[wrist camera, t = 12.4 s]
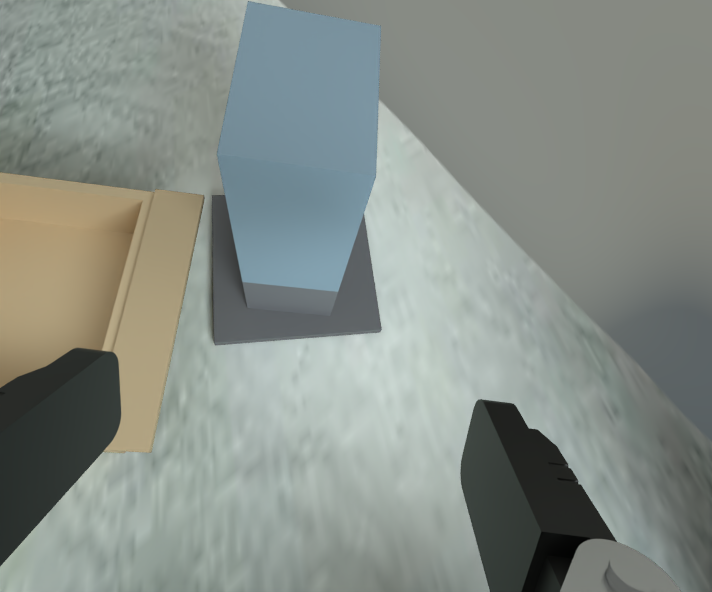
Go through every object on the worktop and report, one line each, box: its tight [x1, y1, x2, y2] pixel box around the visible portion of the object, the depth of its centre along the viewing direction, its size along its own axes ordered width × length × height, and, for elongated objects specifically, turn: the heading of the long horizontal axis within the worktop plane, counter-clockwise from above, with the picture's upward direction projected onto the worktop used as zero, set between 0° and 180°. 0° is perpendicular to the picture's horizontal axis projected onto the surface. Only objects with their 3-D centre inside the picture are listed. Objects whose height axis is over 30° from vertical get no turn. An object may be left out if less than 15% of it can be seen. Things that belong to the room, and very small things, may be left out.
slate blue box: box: [217, 1, 381, 316], centre depth 22 cm, size 5×7×14 cm
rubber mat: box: [212, 195, 382, 345], centre depth 28 cm, size 10×10×1 cm
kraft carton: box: [0, 172, 205, 453], centre depth 22 cm, size 16×13×5 cm
